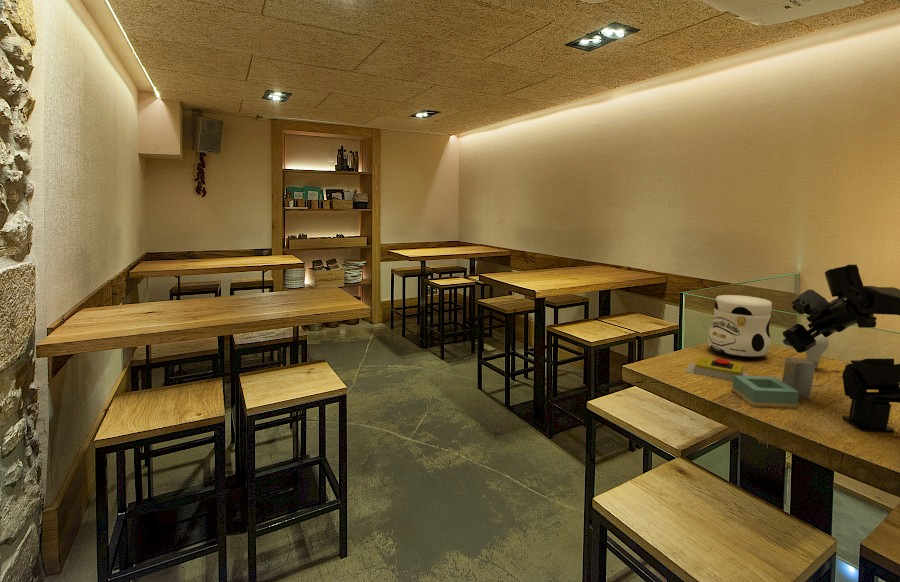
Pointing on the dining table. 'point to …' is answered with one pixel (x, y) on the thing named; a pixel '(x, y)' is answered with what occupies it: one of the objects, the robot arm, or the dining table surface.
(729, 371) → the emergency button
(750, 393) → the socket block
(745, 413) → the dining table surface
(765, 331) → the milk container
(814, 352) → the lightbulb
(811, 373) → the grey rectangular block
